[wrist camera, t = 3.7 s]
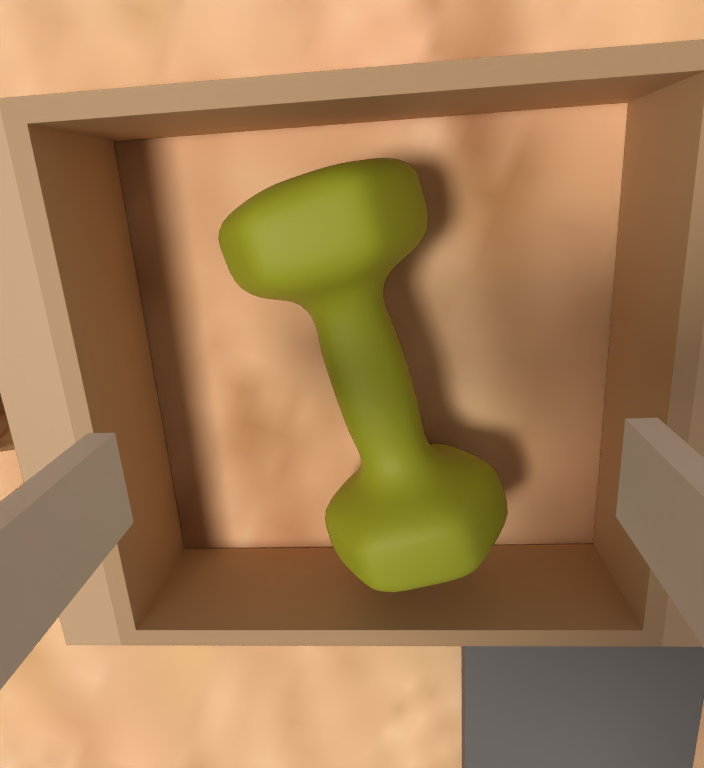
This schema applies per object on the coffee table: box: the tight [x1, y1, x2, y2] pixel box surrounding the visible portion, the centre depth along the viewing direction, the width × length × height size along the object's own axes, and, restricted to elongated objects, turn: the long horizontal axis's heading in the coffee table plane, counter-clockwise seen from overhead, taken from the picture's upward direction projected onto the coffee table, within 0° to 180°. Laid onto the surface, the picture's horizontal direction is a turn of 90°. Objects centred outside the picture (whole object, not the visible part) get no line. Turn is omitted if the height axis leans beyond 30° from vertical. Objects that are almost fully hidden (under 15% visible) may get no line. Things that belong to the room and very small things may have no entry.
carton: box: [0, 39, 704, 647], centre depth 24 cm, size 28×22×6 cm
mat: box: [462, 646, 704, 768], centre depth 31 cm, size 12×19×2 cm, turn 4°
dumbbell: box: [219, 158, 508, 592], centre depth 23 cm, size 16×8×7 cm, turn 17°
